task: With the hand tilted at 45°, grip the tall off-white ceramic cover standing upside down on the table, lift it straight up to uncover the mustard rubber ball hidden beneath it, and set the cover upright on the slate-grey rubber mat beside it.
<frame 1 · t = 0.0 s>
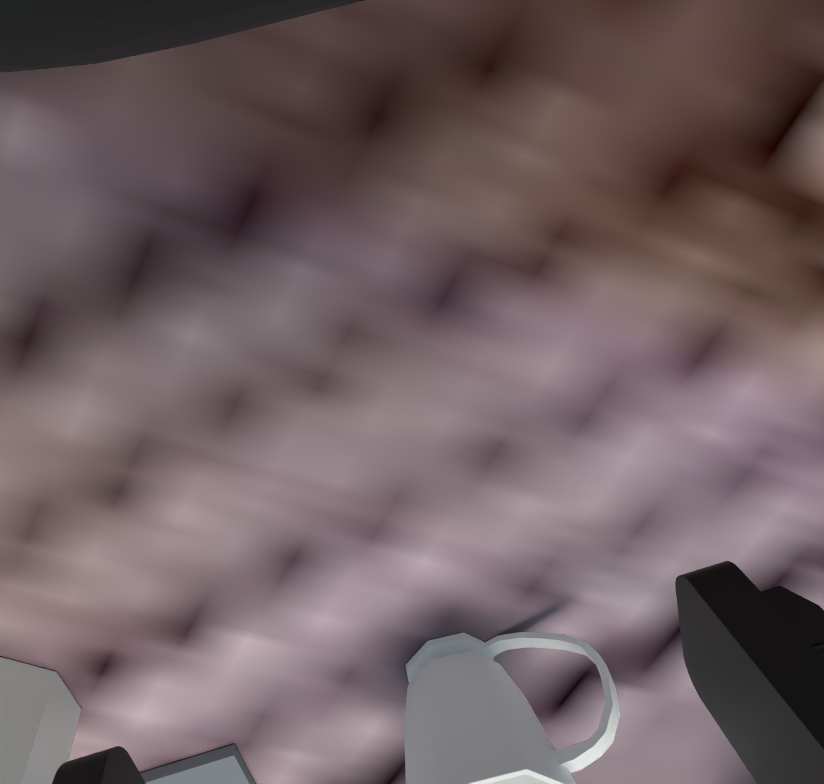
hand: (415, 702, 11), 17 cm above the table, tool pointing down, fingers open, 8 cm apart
cup: (476, 649, 35), on the table
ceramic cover: (1, 711, 31), on the table
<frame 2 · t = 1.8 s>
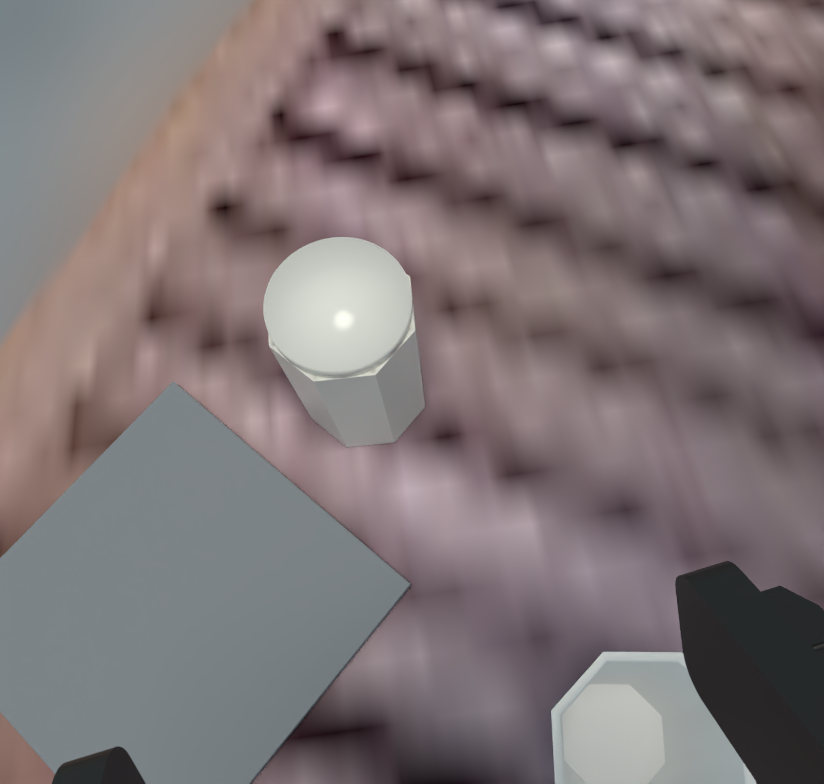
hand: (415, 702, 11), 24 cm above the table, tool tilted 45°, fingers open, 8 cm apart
rubber mat: (172, 608, 35), on the table
cup: (639, 749, 32), on the table
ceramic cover: (366, 391, 38), on the table
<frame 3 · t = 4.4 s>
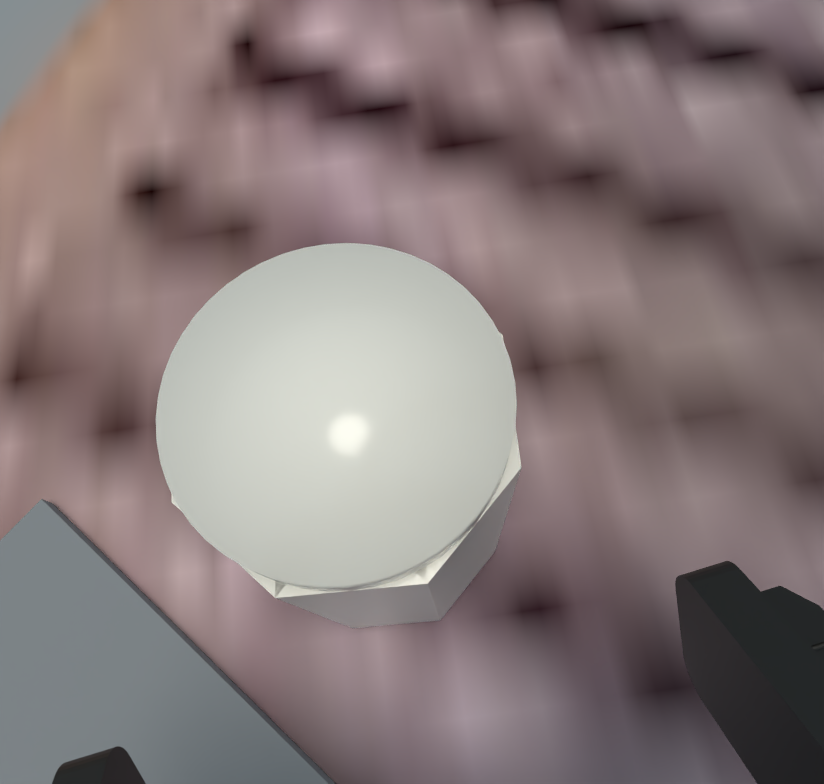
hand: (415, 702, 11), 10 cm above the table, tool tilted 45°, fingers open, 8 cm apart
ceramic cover: (388, 518, 21), on the table
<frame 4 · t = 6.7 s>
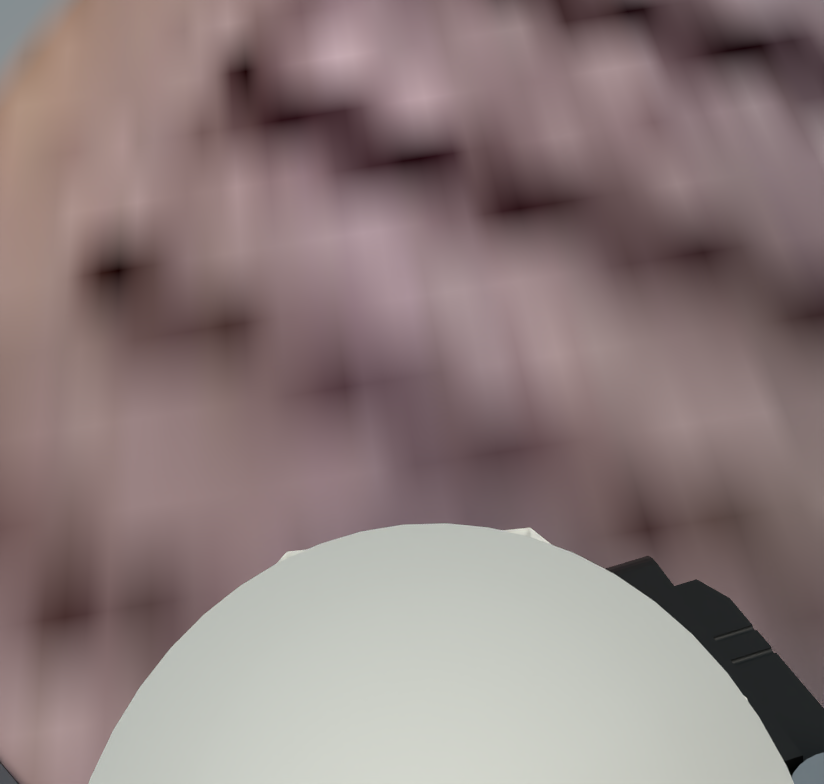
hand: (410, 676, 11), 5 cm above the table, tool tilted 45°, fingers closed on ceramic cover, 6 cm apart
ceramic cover: (448, 760, 15), on the table, touching gripper
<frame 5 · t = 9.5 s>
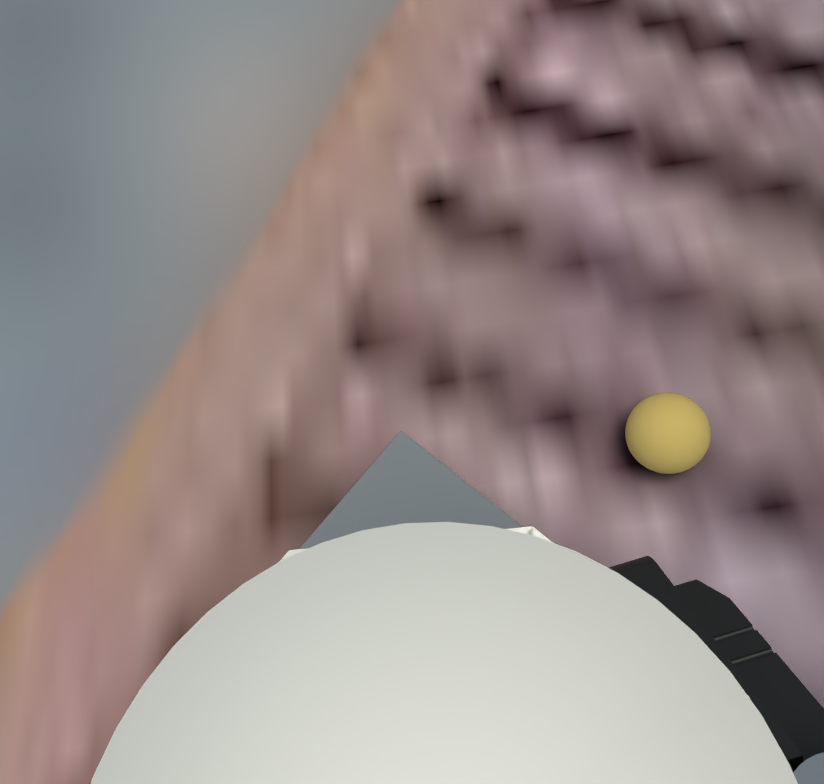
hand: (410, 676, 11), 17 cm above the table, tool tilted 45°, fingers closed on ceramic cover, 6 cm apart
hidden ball: (667, 433, 28), on the table
rubber mat: (428, 744, 26), on the table
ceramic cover: (449, 760, 15), point 12 cm above the table, touching gripper
when the fingers open (7 cm above the table, at t = 12.1 s): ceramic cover drops 1 cm, resting on rubber mat.
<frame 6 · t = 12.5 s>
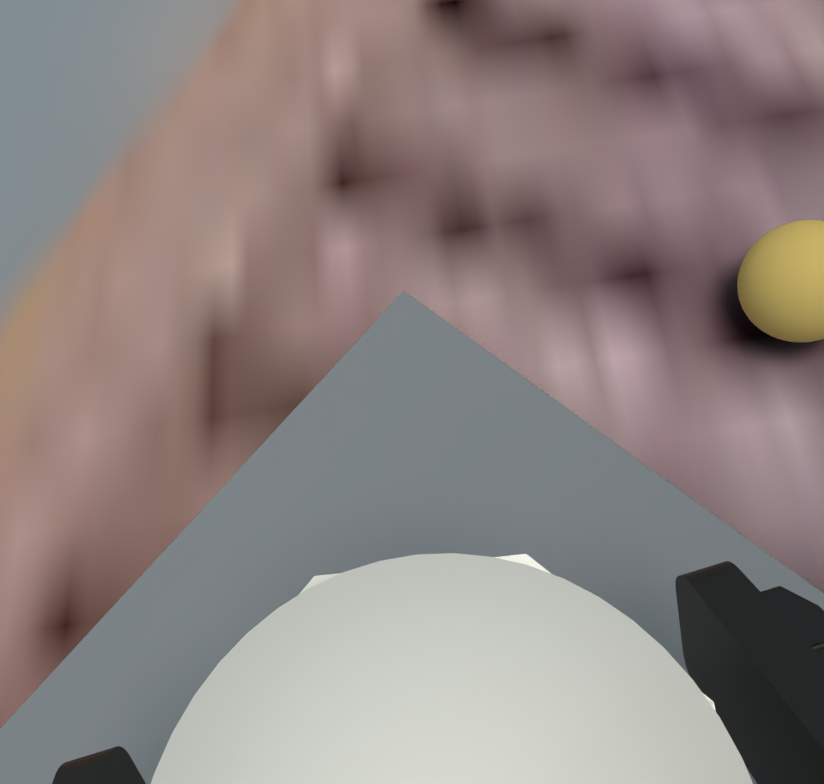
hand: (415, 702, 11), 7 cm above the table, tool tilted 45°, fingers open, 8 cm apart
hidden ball: (803, 281, 18), on the table
rubber mat: (448, 752, 17), on the table
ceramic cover: (453, 758, 16), point 1 cm above the table, touching rubber mat
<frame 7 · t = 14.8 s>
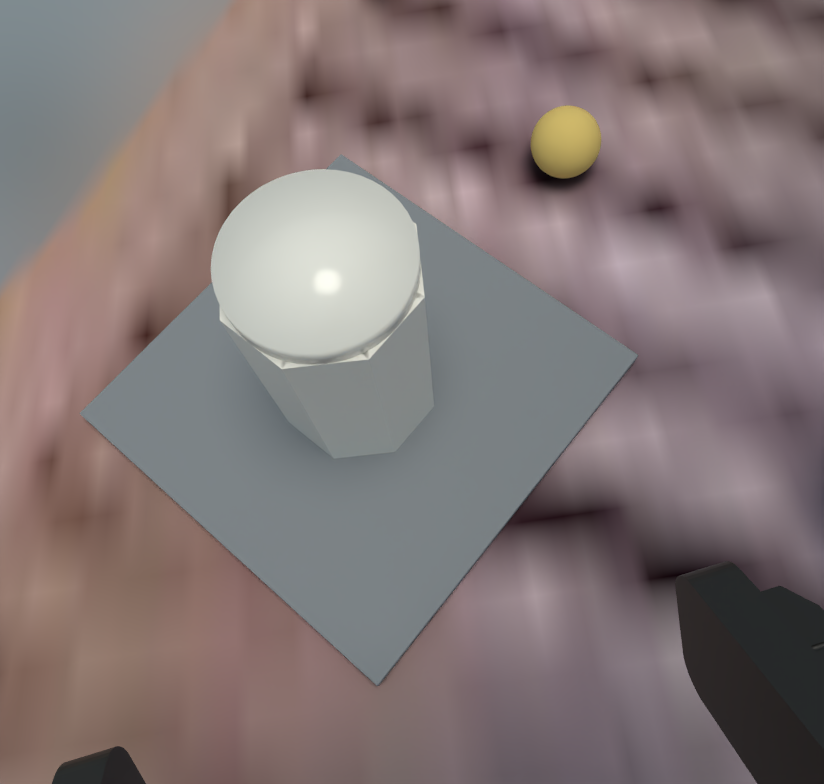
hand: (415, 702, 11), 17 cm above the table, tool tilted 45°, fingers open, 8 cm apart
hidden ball: (565, 142, 32), on the table
rubber mat: (358, 389, 30), on the table
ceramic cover: (359, 386, 30), point 1 cm above the table, touching rubber mat
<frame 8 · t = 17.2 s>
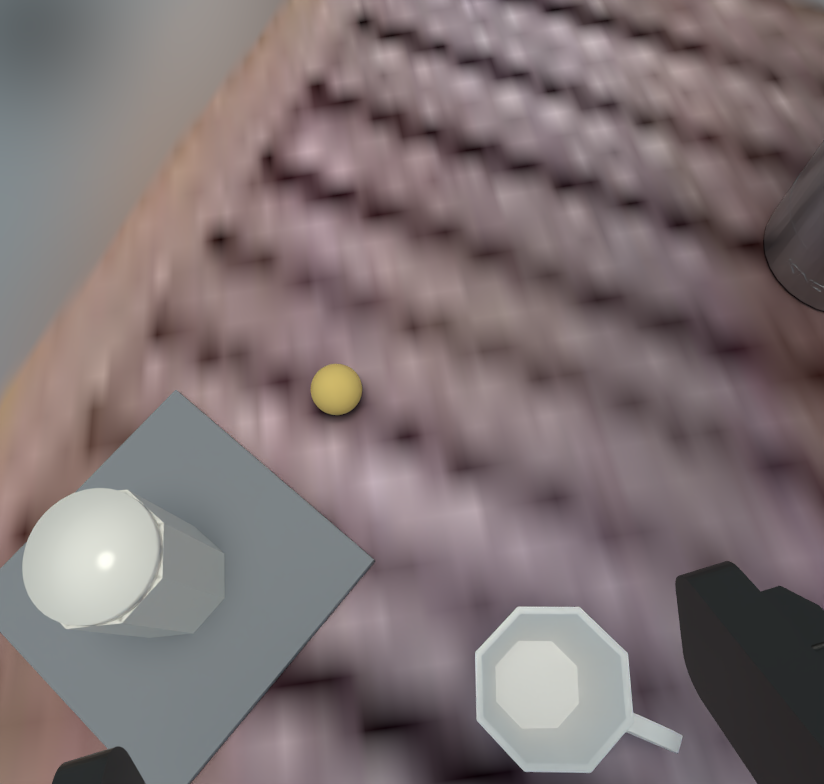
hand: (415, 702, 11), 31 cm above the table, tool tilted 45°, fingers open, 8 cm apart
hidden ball: (336, 389, 44), on the table
rubber mat: (174, 580, 42), on the table
cup: (561, 695, 39), on the table
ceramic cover: (172, 580, 41), point 1 cm above the table, touching rubber mat
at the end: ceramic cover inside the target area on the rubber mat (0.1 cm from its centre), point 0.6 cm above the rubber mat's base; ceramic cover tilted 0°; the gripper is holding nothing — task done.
